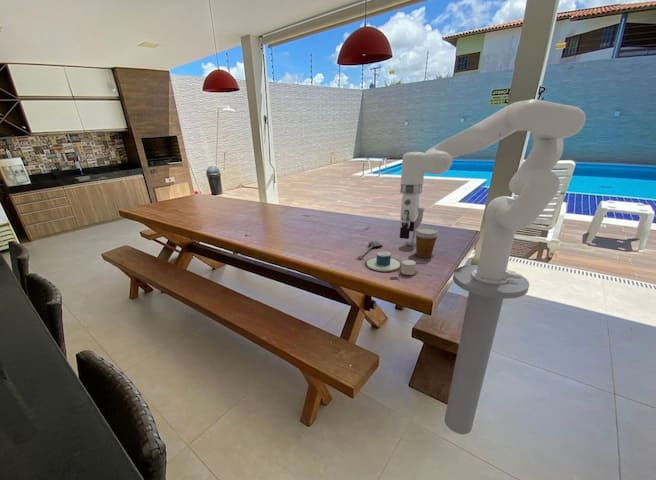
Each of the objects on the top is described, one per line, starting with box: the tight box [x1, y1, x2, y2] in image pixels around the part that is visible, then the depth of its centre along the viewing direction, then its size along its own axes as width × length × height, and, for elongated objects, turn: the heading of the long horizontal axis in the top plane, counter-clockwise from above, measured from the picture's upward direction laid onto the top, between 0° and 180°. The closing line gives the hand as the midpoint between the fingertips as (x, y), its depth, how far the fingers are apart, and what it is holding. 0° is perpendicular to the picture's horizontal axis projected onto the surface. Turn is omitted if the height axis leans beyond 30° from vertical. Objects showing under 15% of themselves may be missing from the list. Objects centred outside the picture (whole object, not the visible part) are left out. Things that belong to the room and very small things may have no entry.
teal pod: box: [376, 250, 392, 266], centre depth 131 cm, size 6×6×4 cm
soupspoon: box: [357, 240, 383, 260], centre depth 147 cm, size 22×3×7 cm
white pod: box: [400, 259, 417, 276], centre depth 123 cm, size 5×5×4 cm
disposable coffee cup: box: [415, 226, 439, 259], centre depth 137 cm, size 10×10×12 cm
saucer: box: [366, 257, 401, 272], centre depth 132 cm, size 14×14×1 cm
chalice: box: [407, 207, 425, 246], centre depth 149 cm, size 7×7×18 cm
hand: (406, 234), depth 116 cm, fingers open, 9 cm apart
